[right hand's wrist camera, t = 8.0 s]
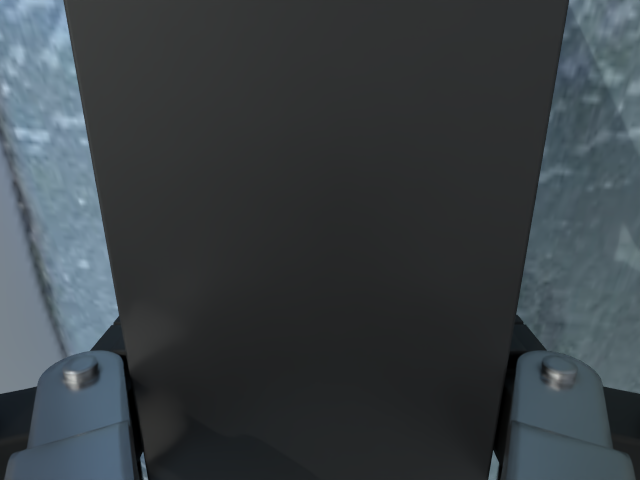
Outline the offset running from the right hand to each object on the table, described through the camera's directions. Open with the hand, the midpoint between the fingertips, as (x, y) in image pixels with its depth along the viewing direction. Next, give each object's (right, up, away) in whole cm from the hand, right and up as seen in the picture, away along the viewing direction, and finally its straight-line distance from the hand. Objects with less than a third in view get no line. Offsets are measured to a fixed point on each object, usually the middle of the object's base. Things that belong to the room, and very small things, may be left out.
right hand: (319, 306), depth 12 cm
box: (0, +10, +4) cm, 11 cm away
